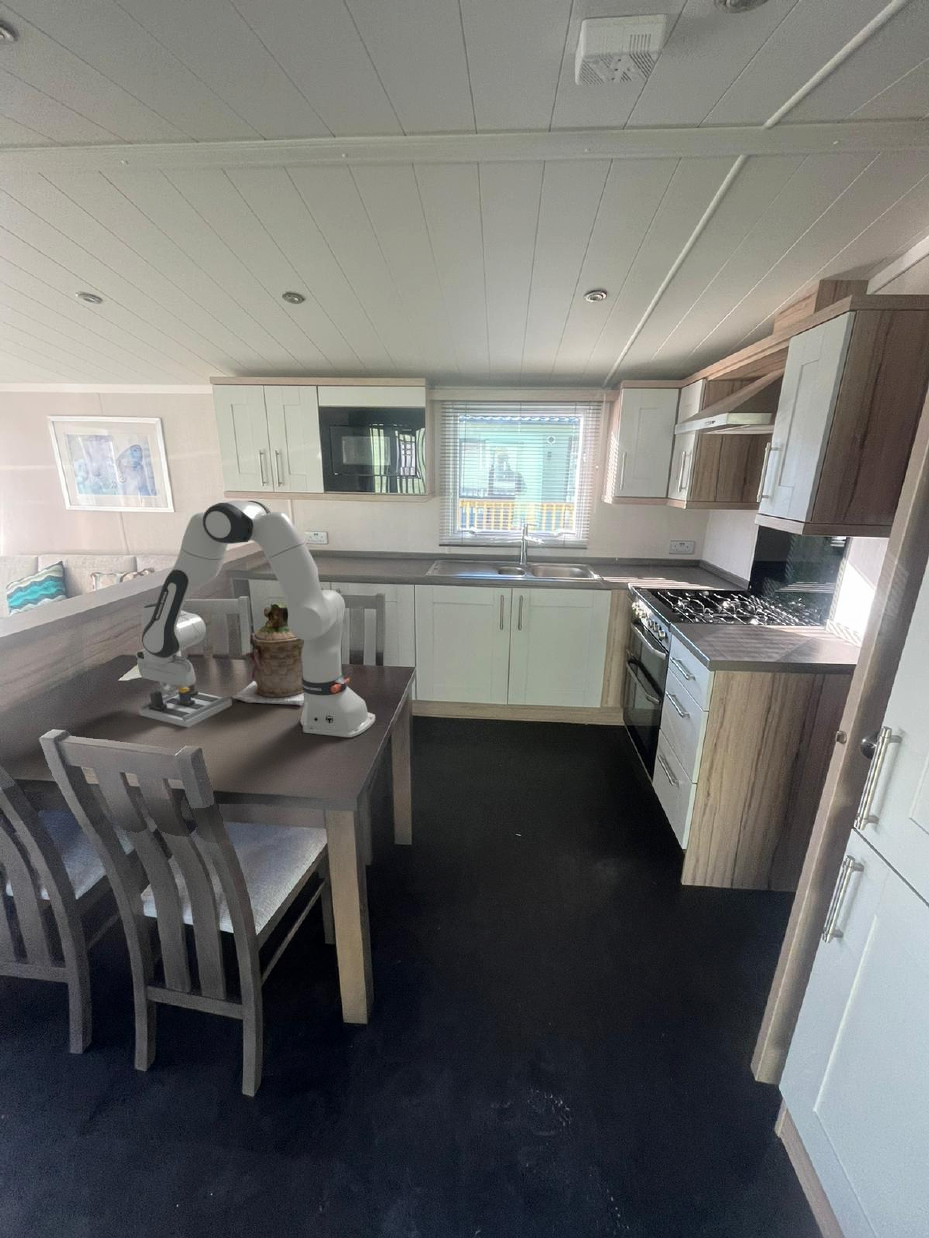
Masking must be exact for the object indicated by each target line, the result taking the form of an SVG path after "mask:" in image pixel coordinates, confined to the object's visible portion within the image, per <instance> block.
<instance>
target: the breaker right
mask: <svg viewBox="0 0 929 1238" xmlns="http://www.w3.org/2000/svg"><path fill="white" fill-rule="evenodd" d="M188 688H190V695H191V696H193V695H196V694H198V692H199V691H198V690H196V689H195V686H194V684H193V685H191V686H188Z"/></svg>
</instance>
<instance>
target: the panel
mask: <svg viewBox="0 0 929 1238" xmlns="http://www.w3.org/2000/svg"><path fill="white" fill-rule="evenodd" d="M162 699H163V704H166V705H167V708H164V709H162V710H158V709H154V708H150V707H149V704H152V703H151V701H149V702H145V703H144V704H141V705H139V709H138V712H139V715H140V716H142V717H146V718H150V719H153V720H157V721H161V722H164V723H169V724H172V725H176V726H181V727H185V728H190V727H192V726H194V725H196V724H198V723H200V722H202V721H204V720H206V719H209V718H210V717H212V716H214V715H216V714H218V713H220V712H222V711H224V710H225V709H228V708H231V707H232V706H233V701H232V699H231V698H230V695H224V696H223V697H221V696H217V695H213V694H207V693H203V692H200V691H198V694H196V695H193V696H191V700H195V703H194V704H191V705H189V706H188V705H184V704H180V703H177V700H179V699H180V697H179V690H178V689H176V694H175V695H173V696H170V695H166V694H164V695H162Z"/></svg>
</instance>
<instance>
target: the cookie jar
mask: <svg viewBox="0 0 929 1238" xmlns="http://www.w3.org/2000/svg"><path fill="white" fill-rule="evenodd" d="M263 616H264V617H266V618H267V619H268V620H267V621H266V622H265V625H263V626H261V627H260V628H259V629H258V630H257V631H255V632H252V633H251V634H250V641H249V643H250V645H251V646H252V652H251V651H250V652H246V654H245V659H246V660H247V661H248V663H249V664H250V665H251V666H252V674H251V678H252V679H253V681H252V682H250V684H248V685H247V686H246V687H244V688H242V690H241V691H239V692H237V693H235V694H233V695H232V697H231V698H233V699H234V700H235V699H236V700H240V701H242V702H245V703H247V704H249V703H252V704H253V703H254V704H255V703H260V704H274V705H275V704H277V705H278V704H279V705H296V706H301V707H303V702H304V691H303V690H302V676H303V670H302V656H301V652H302V648H303V645H304V640H302V639H299V638H297V637H296V636H294V635H293V634H292V633H291V631H290V629H289V627H288V610H287V606H286V604H283V603H278V602H277V603H276V602H271V603H270V606H267V607H265V608H264V609H263Z"/></svg>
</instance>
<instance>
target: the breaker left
mask: <svg viewBox="0 0 929 1238" xmlns="http://www.w3.org/2000/svg"><path fill="white" fill-rule="evenodd" d="M162 693H163V692H162V691H159V690H156V691H153V692H151V693H149V696H150V702H151V703H152V704H149V707H150V708H154V709H158V710H162V709H164V708H167V705H166V704H163V699H162V696H163V694H162Z"/></svg>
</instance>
